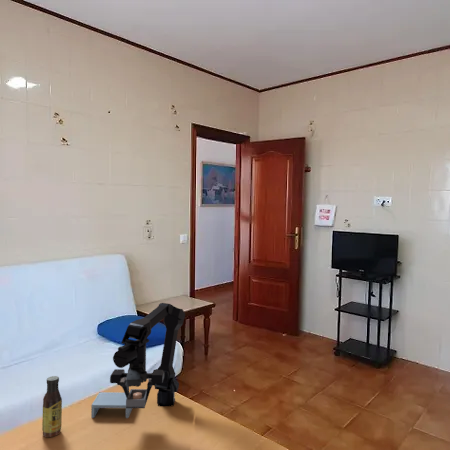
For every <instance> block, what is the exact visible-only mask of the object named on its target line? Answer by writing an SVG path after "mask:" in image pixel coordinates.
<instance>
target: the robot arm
mask: <svg viewBox="0 0 450 450" xmlns="http://www.w3.org/2000/svg"><path fill="white" fill-rule="evenodd" d="M185 318H186V313H185V311H184V309H182V308H178V307H176V306H174V305H173V304H171V303H165V302H160V303H159V304H158V306H157V307H156V308H154V309H153V310H152V311H150V312H149V313H148V314H147V315H146V316H144V317H143V318H140V319H135V320H134V321H132V322H130V323H129V324H128V326H127V327H126V329H125V333H124V335H123V336H122V340H121V344H123V345H120V346H119V347H117V351H115V352H114V354H113V357H112V361H113V363H114V365H115V366H116V367H117V369H116V368H115V369H114V370H113V371H112V373H111V375H110V376H109V377H110V378H109V383H110V384H116V385H117V386H120V387H121V388H122V390H123V393H125V395H126V398H127V397H128V395H129V392H130V388H131V387H140V386H141V385H142V384H143V383H145V382H147V384H146V386H147V387H146V389H147V393H146V400H147V401H148V399H149V395H150V393H151V390H152V388H153V386H154V390H158V391H157V393H156V394H157V395H156V403H157V407H175V406H174V405H175V401H176V398H175V395H176V393H177V392H178V390H179V385H180V382H178V381H177V380H176V371H175V369H174V365H173V364H174V358H175V353H176V346H177V341H178V340H177V338H178V333H179V329H180V328H181V327H182V326H183V324H184V320H185ZM162 320H163V324H164V326H165V336H164V342H163V347H162V354H161V359H160V365H159V367H157V369H153V371H152V372H151V373H150V372H148V371H147V363H146V362H147V343H149V342H150V339H148V338H149V336H150V335H151V334H152V329H153V328H154V327H155V326H156V325H157V324H158V323H160V322H161V321H162ZM126 366H129V367H128V370H127V372H126V371H125V369H124V368H125V367H126ZM118 368H119V369H118Z"/></svg>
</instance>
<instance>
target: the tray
mask: <svg viewBox="0 0 450 450" xmlns="http://www.w3.org/2000/svg"><path fill="white" fill-rule="evenodd" d="M137 392H140V393H142V399H133V394H134V393H137ZM146 393H147V388H146V389H144V388H138V389H137V388H130V389H129V395H128V397H127V399H126V408H132V409H145V407H146V405H147V402H148V399H147V400H146ZM126 408H125V409H126Z"/></svg>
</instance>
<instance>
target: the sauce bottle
mask: <svg viewBox="0 0 450 450" xmlns="http://www.w3.org/2000/svg"><path fill="white" fill-rule="evenodd" d="M59 383H60V377H59V376H58V375H52V376H48V377H46V393H45V394H44V396H43V399H42V424H41V425H42V428H41V429H42V436H43V437H44V438H53V437H56V436H57V435H59V434H60V433H61V430H62V423H63V422H62V413H63V412H62V411H63V410H62V408H63V407H62V406H63V405H62V404H63V398H62V396H61V393H60V390H59Z"/></svg>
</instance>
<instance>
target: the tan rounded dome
mask: <svg viewBox="0 0 450 450" xmlns="http://www.w3.org/2000/svg"><path fill="white" fill-rule="evenodd" d="M133 399H142V393H140V392H137V393H134V394H133Z"/></svg>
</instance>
